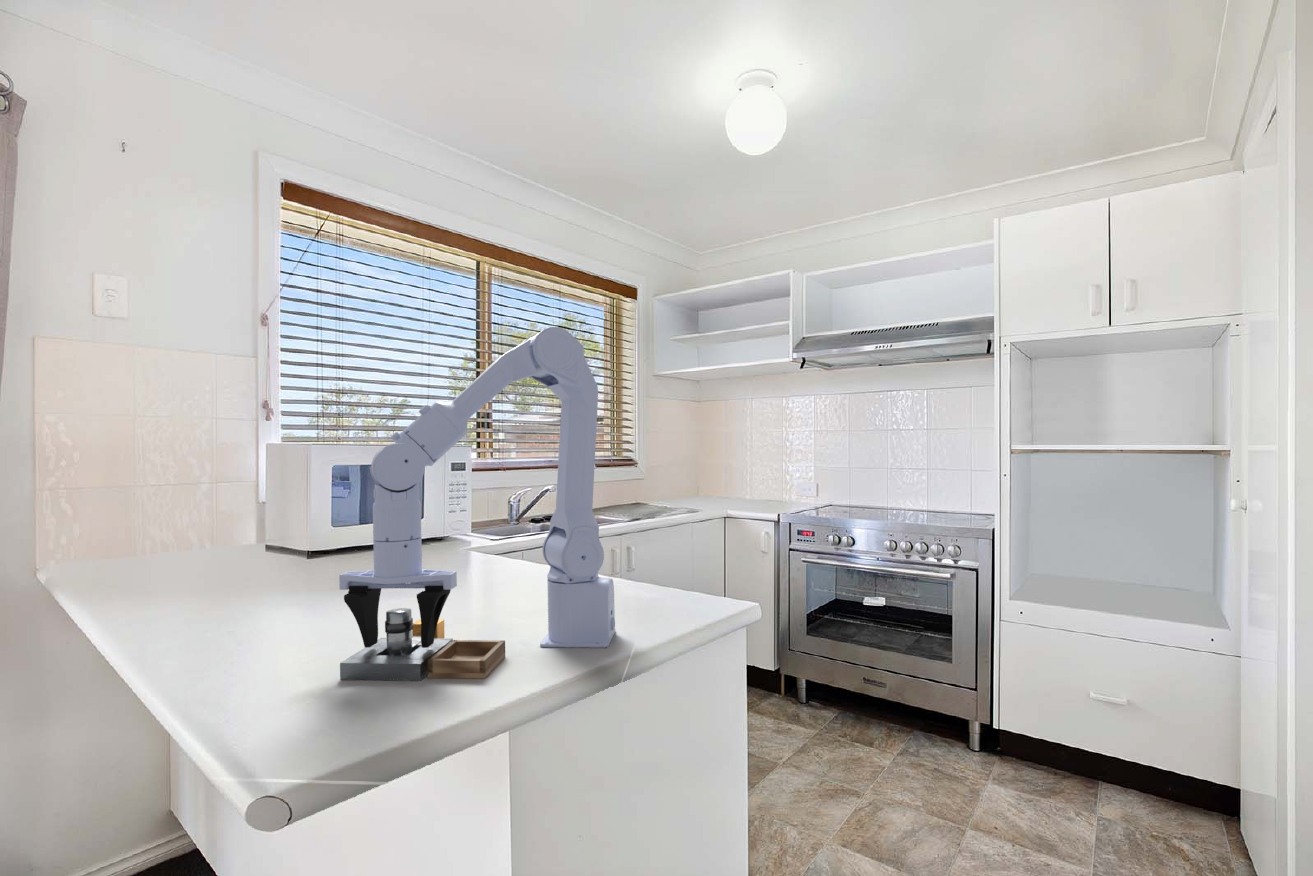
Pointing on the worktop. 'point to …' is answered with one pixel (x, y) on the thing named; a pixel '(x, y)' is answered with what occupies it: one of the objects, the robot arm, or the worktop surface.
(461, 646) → the square wooden tray
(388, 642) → the silver metal canister
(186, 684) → the worktop surface
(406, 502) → the robot arm
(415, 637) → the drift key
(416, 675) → the socket
